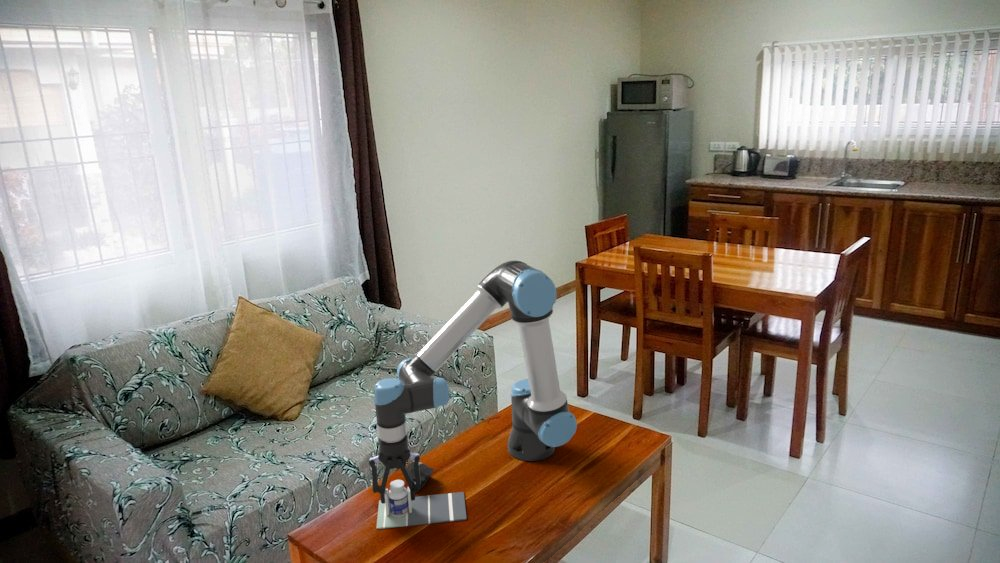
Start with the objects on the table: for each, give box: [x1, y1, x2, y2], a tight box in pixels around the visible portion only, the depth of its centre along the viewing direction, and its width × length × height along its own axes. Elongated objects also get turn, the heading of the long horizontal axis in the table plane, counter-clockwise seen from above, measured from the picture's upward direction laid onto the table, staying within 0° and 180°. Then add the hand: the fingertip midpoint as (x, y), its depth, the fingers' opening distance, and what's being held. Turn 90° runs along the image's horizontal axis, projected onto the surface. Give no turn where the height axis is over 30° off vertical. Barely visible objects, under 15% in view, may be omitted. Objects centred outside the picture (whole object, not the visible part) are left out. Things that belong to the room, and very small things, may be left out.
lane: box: [375, 491, 467, 530], centre depth 177 cm, size 24×12×1 cm, turn 97°
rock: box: [407, 461, 434, 494], centre depth 188 cm, size 10×9×6 cm
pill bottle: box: [388, 479, 409, 517], centre depth 175 cm, size 5×5×9 cm
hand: (399, 510), depth 176 cm, fingers open, 5 cm apart
